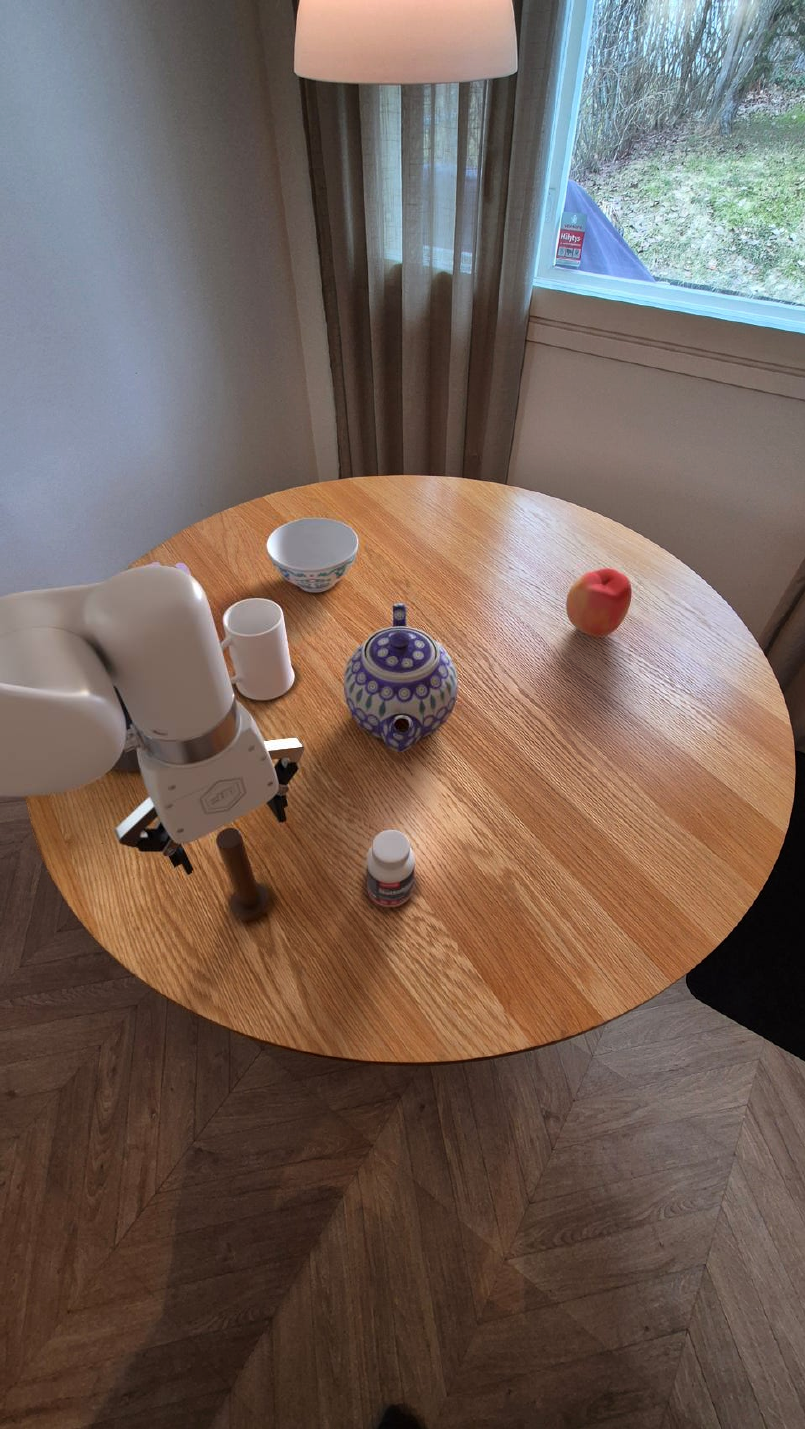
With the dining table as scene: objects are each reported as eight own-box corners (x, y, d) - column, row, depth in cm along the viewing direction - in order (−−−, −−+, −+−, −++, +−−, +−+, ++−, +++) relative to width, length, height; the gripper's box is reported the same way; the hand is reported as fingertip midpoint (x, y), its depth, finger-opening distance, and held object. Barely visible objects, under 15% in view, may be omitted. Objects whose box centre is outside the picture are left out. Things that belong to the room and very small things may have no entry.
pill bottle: (376, 915, 73) (375, 875, 67) (360, 875, 76) (357, 833, 70) (420, 898, 74) (423, 858, 68) (403, 860, 78) (404, 818, 71)
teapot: (353, 653, 102) (348, 573, 91) (452, 656, 102) (460, 576, 90) (337, 786, 85) (329, 706, 74) (457, 790, 85) (466, 710, 74)
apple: (592, 603, 111) (606, 552, 103) (634, 635, 105) (652, 584, 98) (548, 623, 107) (560, 572, 100) (590, 657, 102) (605, 606, 94)
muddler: (243, 928, 72) (218, 863, 62) (227, 900, 74) (200, 833, 64) (276, 909, 73) (256, 842, 63) (259, 882, 76) (238, 813, 65)
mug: (235, 720, 92) (218, 657, 83) (205, 686, 97) (186, 623, 88) (305, 682, 97) (297, 619, 88) (274, 652, 102) (263, 589, 93)
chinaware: (294, 549, 120) (289, 511, 115) (372, 564, 117) (371, 526, 112) (257, 597, 111) (250, 558, 105) (340, 616, 108) (337, 576, 102)
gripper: (92, 806, 45) (160, 915, 58) (311, 700, 52) (329, 819, 65) (60, 737, 50) (130, 853, 62) (267, 648, 56) (292, 769, 69)
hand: (232, 836), depth 64 cm, fingers open, 9 cm apart
